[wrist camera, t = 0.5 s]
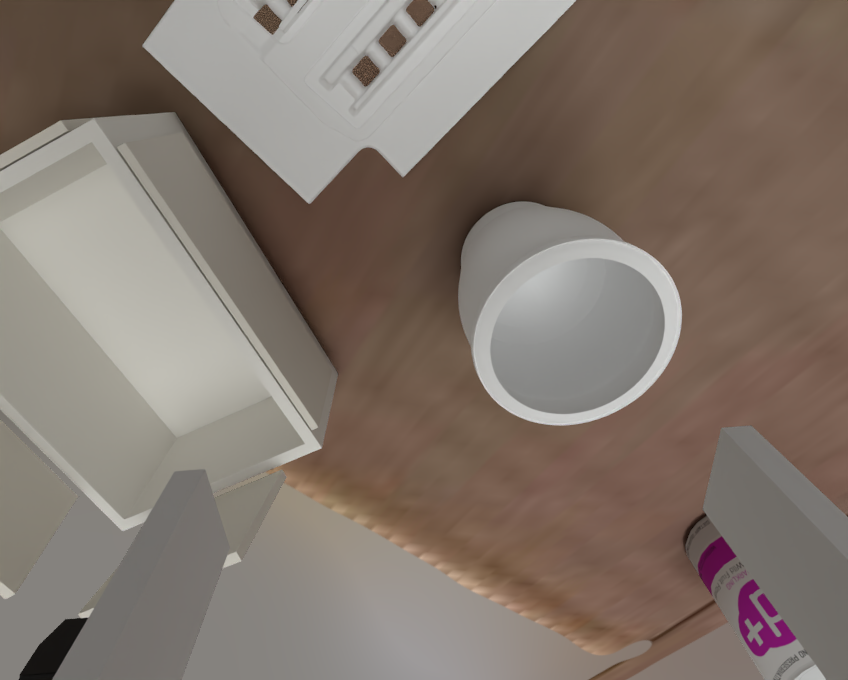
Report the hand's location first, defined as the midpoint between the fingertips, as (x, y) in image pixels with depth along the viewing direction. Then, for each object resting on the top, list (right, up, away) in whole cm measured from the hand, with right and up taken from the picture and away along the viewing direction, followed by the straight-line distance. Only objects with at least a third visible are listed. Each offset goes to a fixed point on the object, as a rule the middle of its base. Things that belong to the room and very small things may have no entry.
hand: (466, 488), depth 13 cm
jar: (+6, +10, +26) cm, 29 cm away
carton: (-20, +7, +26) cm, 34 cm away
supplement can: (+30, -16, +40) cm, 52 cm away
